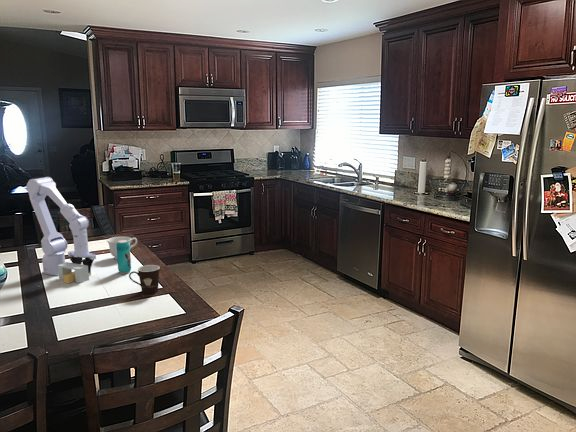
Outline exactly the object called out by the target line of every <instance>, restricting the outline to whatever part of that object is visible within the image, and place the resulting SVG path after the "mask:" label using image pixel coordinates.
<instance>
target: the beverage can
mask: <svg viewBox="0 0 576 432" xmlns="http://www.w3.org/2000/svg"><path fill="white" fill-rule="evenodd" d="M116 246H117V269H118V272H119V274H121V275H122V274H123V275H125V274H130V273H131V270H132V261H131V260H132V258H131V249H130V246H131V243H130V244H129V240H119V241H117V244H116Z"/></svg>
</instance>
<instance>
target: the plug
mask: <svg viewBox="0 0 576 432" xmlns="http://www.w3.org/2000/svg"><path fill="white" fill-rule="evenodd" d="M81 265H83V263H82V264H81ZM91 275H92V269H91V270H90V273H89V276H91ZM62 281H63V283H68V284H69V283H72V282H76V278H75V270H74V271H72V272H71V273H68V274H66V275H63V280H62Z"/></svg>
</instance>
